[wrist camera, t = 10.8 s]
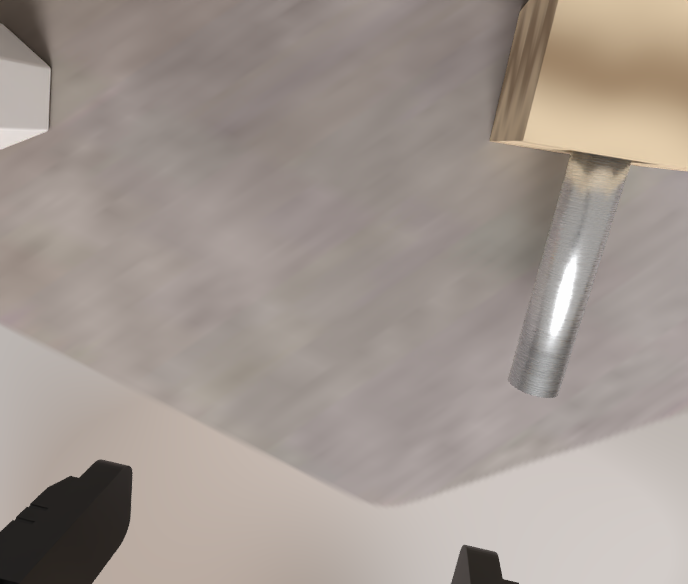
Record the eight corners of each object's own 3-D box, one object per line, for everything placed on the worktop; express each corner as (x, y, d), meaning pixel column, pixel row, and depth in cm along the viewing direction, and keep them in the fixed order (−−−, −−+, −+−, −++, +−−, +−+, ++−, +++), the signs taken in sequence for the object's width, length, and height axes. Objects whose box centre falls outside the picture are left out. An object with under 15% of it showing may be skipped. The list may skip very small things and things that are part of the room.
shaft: (592, 52, 28) (612, 42, 25) (649, 61, 28) (676, 51, 25) (504, 370, 34) (512, 391, 31) (551, 379, 33) (564, 402, 31)
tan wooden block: (519, 12, 33) (572, -56, 22) (681, 35, 32) (824, -23, 21) (489, 141, 36) (523, 140, 24) (640, 166, 35) (748, 178, 23)
